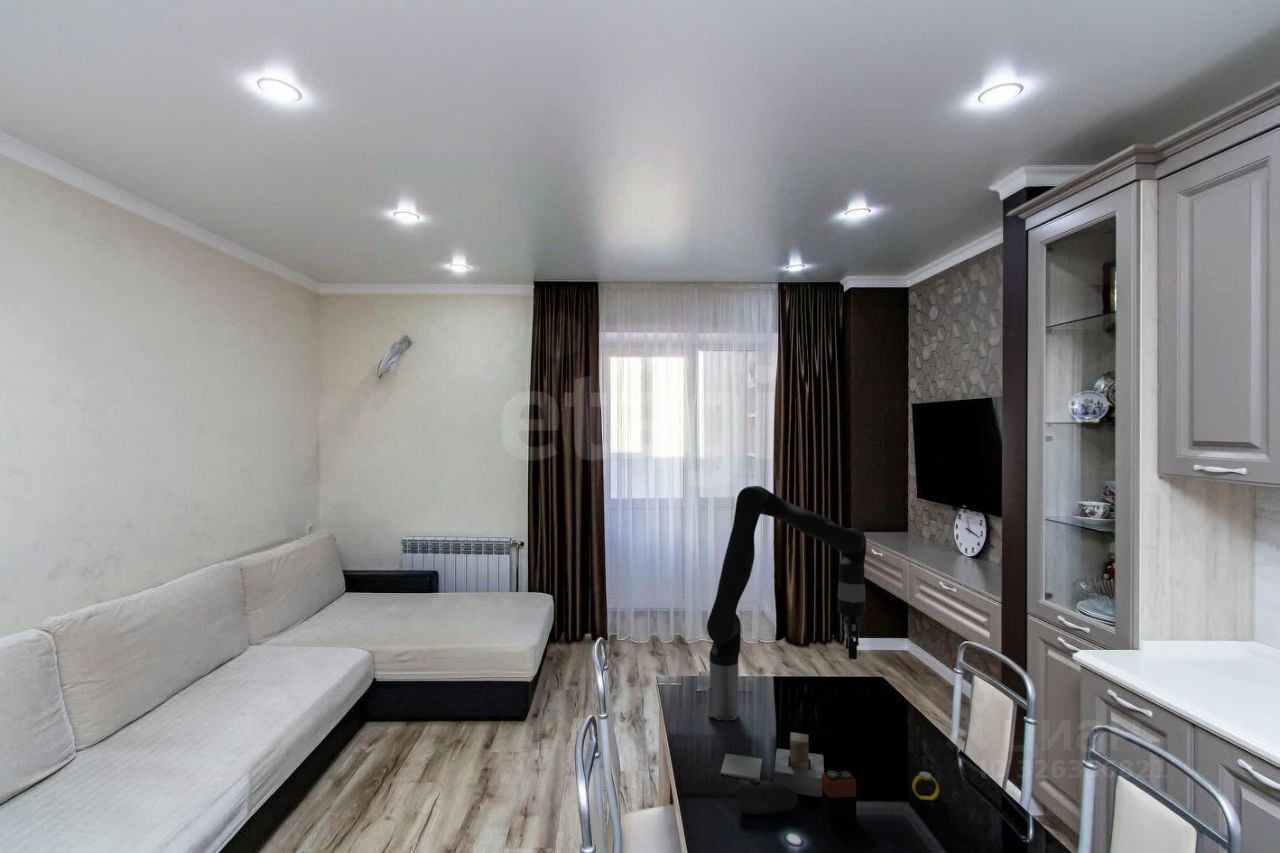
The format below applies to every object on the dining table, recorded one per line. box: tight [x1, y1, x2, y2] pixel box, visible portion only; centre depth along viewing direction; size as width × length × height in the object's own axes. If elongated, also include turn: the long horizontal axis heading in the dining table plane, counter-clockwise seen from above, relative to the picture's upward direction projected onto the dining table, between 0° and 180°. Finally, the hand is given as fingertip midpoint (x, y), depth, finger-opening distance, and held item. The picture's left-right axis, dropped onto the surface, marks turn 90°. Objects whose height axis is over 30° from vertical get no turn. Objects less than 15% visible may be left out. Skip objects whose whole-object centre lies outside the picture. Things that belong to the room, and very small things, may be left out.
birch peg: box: [789, 732, 809, 770], centre depth 151 cm, size 4×4×11 cm
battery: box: [821, 770, 857, 823], centre depth 137 cm, size 4×7×10 cm, turn 95°
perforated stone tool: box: [735, 779, 799, 816], centre depth 138 cm, size 15×5×7 cm, turn 90°
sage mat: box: [720, 753, 763, 780], centre depth 157 cm, size 10×10×1 cm
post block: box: [773, 748, 825, 798], centre depth 151 cm, size 12×12×4 cm
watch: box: [911, 771, 940, 801], centre depth 144 cm, size 6×3×6 cm, turn 84°
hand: (851, 653), depth 170 cm, fingers open, 8 cm apart
